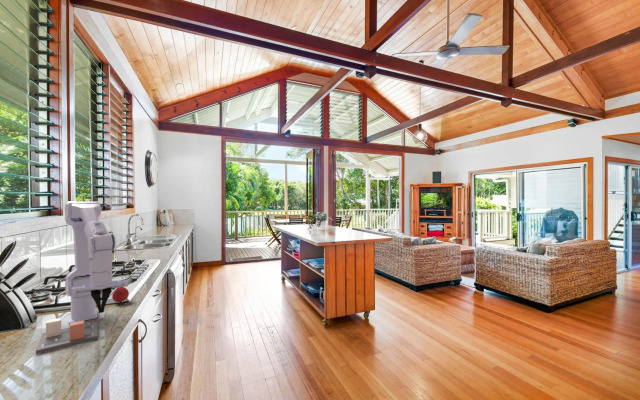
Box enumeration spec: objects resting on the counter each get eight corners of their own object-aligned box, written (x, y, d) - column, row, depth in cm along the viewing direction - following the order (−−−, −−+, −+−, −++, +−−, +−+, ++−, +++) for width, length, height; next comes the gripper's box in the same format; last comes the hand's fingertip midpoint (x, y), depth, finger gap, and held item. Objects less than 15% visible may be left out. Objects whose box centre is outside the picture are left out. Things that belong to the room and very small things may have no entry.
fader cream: (46, 334, 91) (46, 320, 90) (61, 331, 93) (61, 317, 93) (45, 337, 88) (45, 323, 88) (60, 334, 91) (60, 320, 91)
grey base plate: (42, 337, 91) (42, 333, 91) (97, 325, 100) (97, 321, 100) (35, 354, 81) (35, 350, 81) (97, 339, 90) (97, 335, 90)
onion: (120, 306, 117) (120, 287, 117) (108, 305, 119) (108, 286, 118) (132, 301, 123) (132, 283, 123) (121, 300, 124) (121, 282, 124)
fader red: (70, 337, 89) (70, 323, 89) (84, 334, 91) (84, 320, 91) (69, 340, 87) (69, 326, 87) (84, 337, 89) (84, 323, 89)
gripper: (71, 277, 85) (71, 321, 85) (129, 269, 94) (128, 310, 94) (72, 272, 90) (72, 314, 90) (127, 265, 99) (127, 304, 99)
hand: (101, 311), depth 93 cm, fingers closed
